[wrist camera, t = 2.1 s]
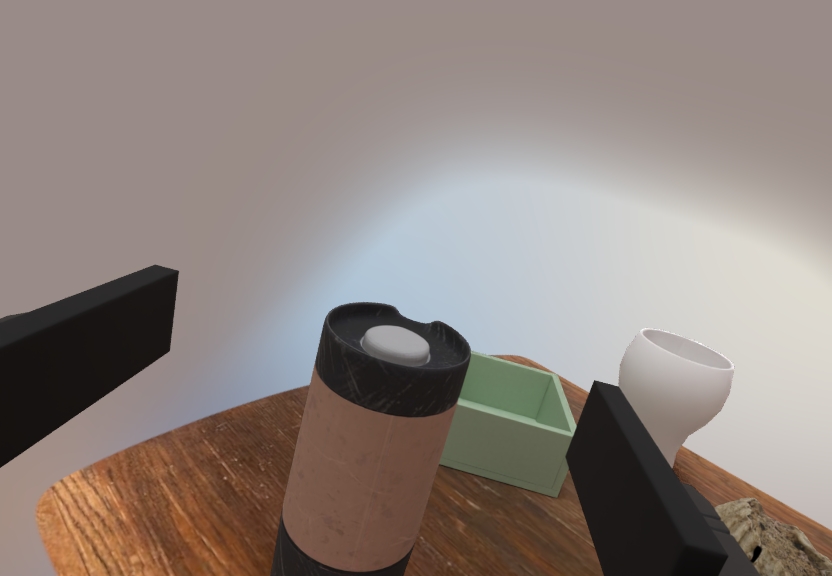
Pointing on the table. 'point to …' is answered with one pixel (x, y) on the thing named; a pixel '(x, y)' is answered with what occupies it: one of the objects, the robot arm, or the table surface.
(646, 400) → the cup
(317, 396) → the travel mug
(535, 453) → the bin
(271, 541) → the table surface
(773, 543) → the seashell
